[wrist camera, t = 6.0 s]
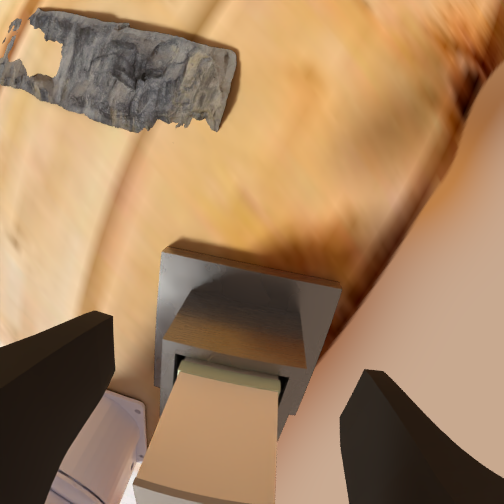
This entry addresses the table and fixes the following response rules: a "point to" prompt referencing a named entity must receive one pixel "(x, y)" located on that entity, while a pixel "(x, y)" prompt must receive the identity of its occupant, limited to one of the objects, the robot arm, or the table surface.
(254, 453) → the post
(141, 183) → the table surface
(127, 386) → the table surface
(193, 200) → the table surface
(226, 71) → the driftwood
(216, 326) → the sleeve stand
